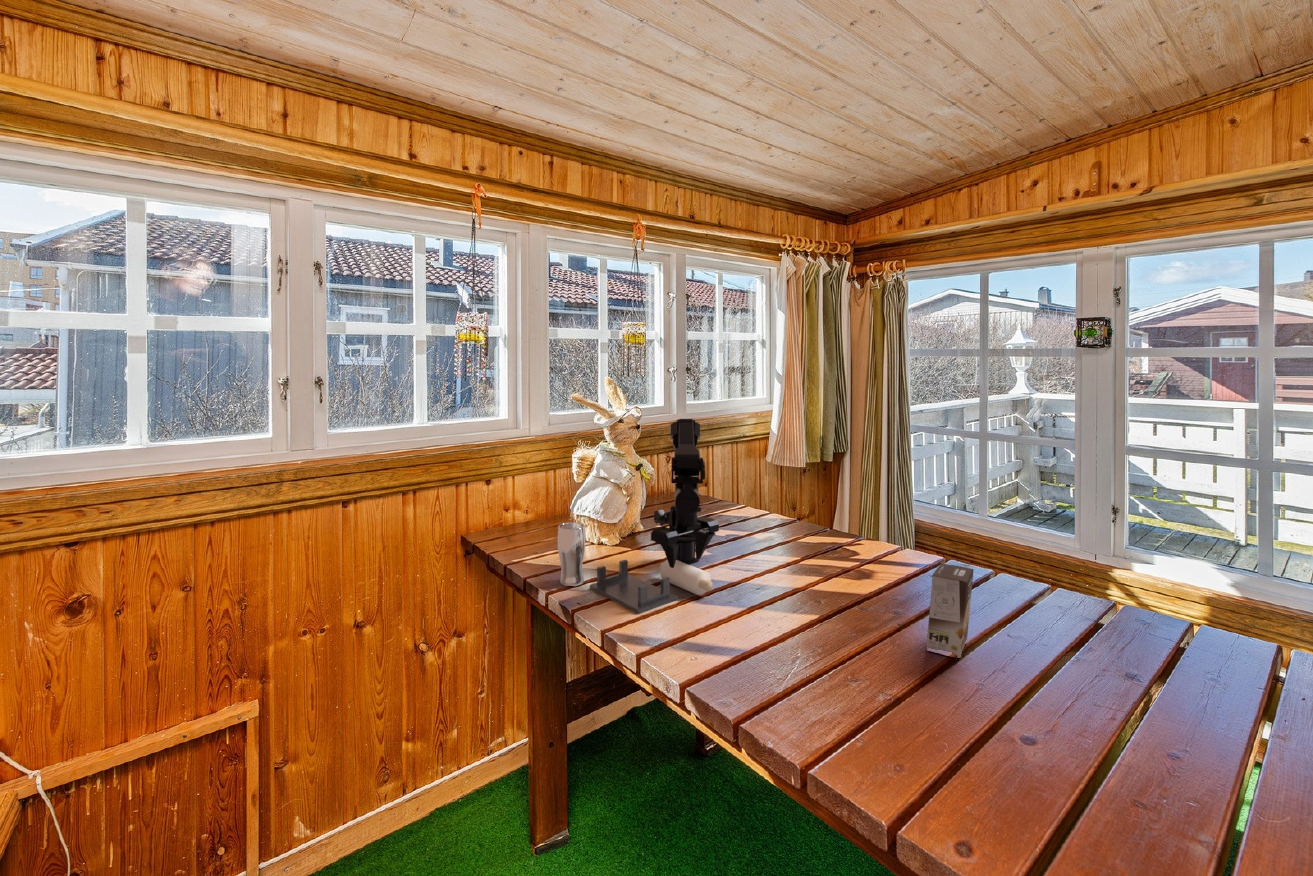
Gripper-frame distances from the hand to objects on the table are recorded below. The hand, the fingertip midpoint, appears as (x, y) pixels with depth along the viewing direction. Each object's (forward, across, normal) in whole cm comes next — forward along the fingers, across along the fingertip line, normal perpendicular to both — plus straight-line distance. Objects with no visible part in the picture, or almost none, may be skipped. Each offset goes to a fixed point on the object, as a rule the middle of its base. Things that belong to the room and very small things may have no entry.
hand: (685, 563), depth 152 cm
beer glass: (+6, +20, -21) cm, 30 cm away
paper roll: (+6, 0, 0) cm, 6 cm away
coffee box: (+6, -19, +57) cm, 60 cm away
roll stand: (+6, +13, -5) cm, 15 cm away
